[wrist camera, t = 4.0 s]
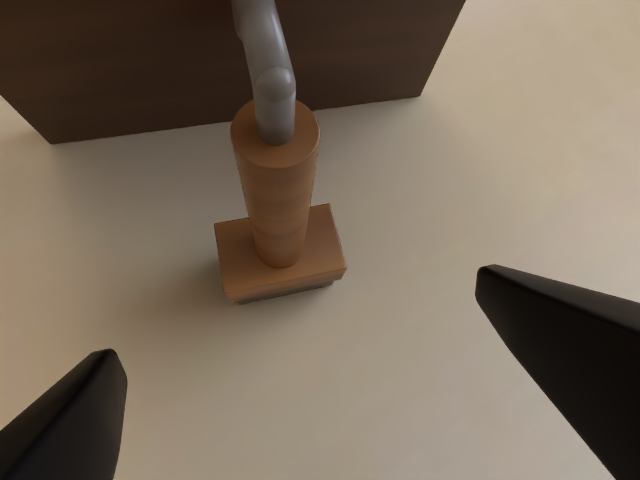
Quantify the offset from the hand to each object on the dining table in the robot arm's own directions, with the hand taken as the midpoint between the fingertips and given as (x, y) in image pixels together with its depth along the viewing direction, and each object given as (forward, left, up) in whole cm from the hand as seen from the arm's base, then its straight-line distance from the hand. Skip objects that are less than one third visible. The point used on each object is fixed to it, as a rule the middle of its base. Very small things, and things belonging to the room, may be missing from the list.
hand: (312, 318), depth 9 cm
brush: (+4, +4, -11) cm, 12 cm away
